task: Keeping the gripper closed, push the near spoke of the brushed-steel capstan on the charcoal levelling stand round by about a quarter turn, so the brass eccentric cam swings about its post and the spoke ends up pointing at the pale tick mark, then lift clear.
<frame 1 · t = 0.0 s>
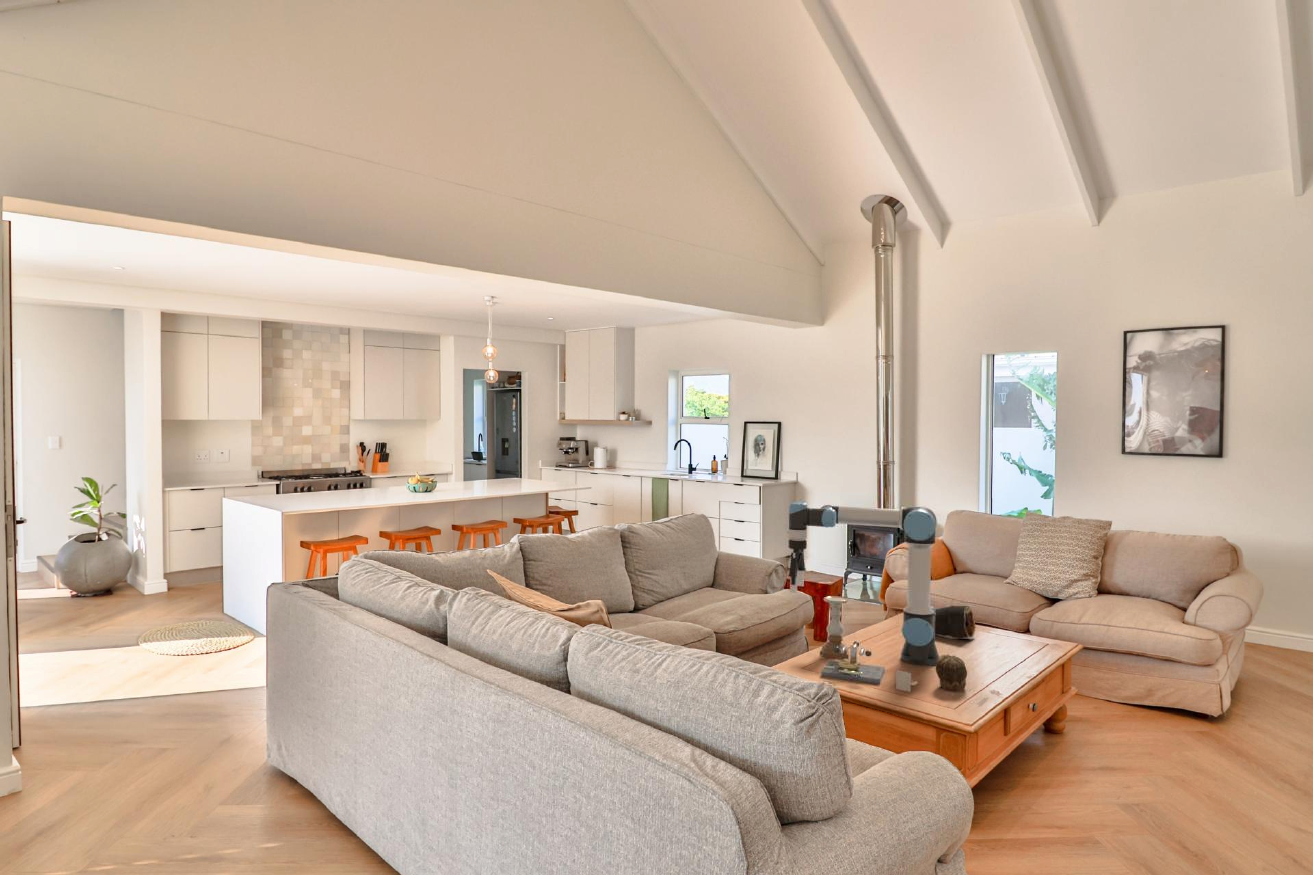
hand: (796, 589, 332), 28 cm above the table, fingers open, 13 cm apart
dark brown rounded lump: (950, 688, 293), on the table
candle holder: (835, 654, 334), on the table
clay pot: (944, 635, 365), on the table
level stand: (853, 674, 308), on the table
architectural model: (904, 691, 291), on the table
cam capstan: (854, 656, 309), point 7 cm above the table, hinge at 0.0°
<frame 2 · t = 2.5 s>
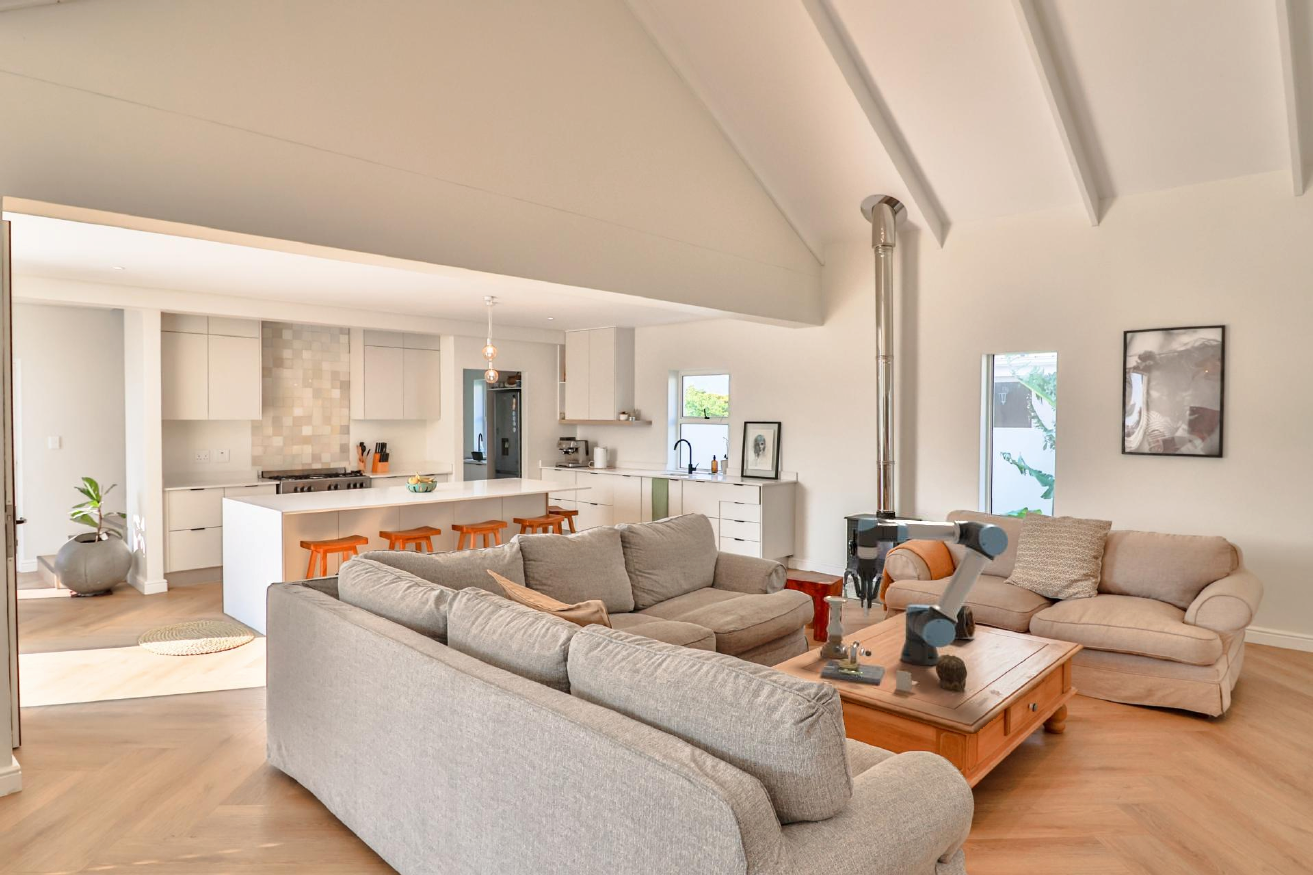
hand: (866, 616, 311), 22 cm above the table, fingers closed
nothing on the table moved.
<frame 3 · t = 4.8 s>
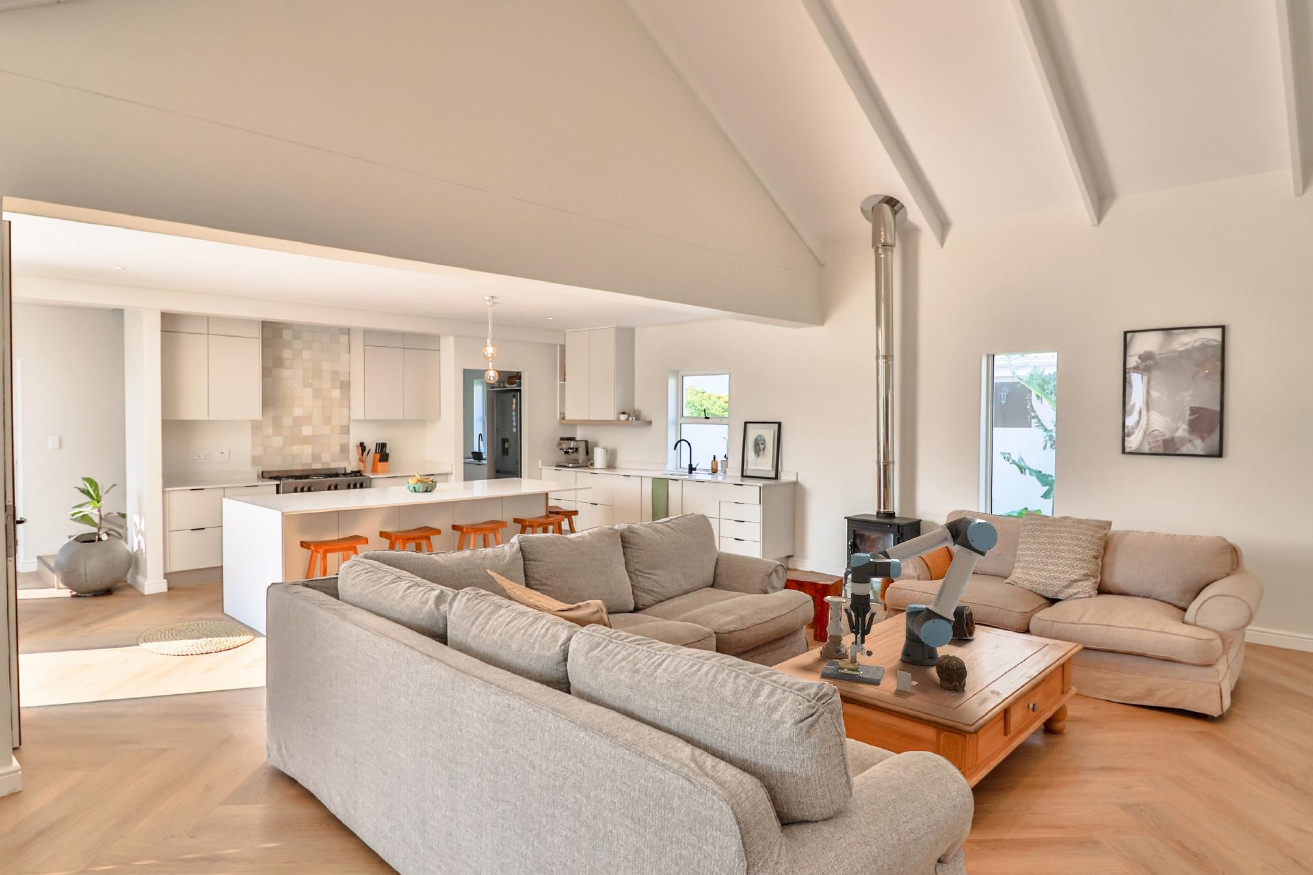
hand: (859, 651, 313), 8 cm above the table, fingers closed
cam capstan: (853, 656, 309), point 7 cm above the table, hinge at 5.1°, touching gripper
everything else where it was.
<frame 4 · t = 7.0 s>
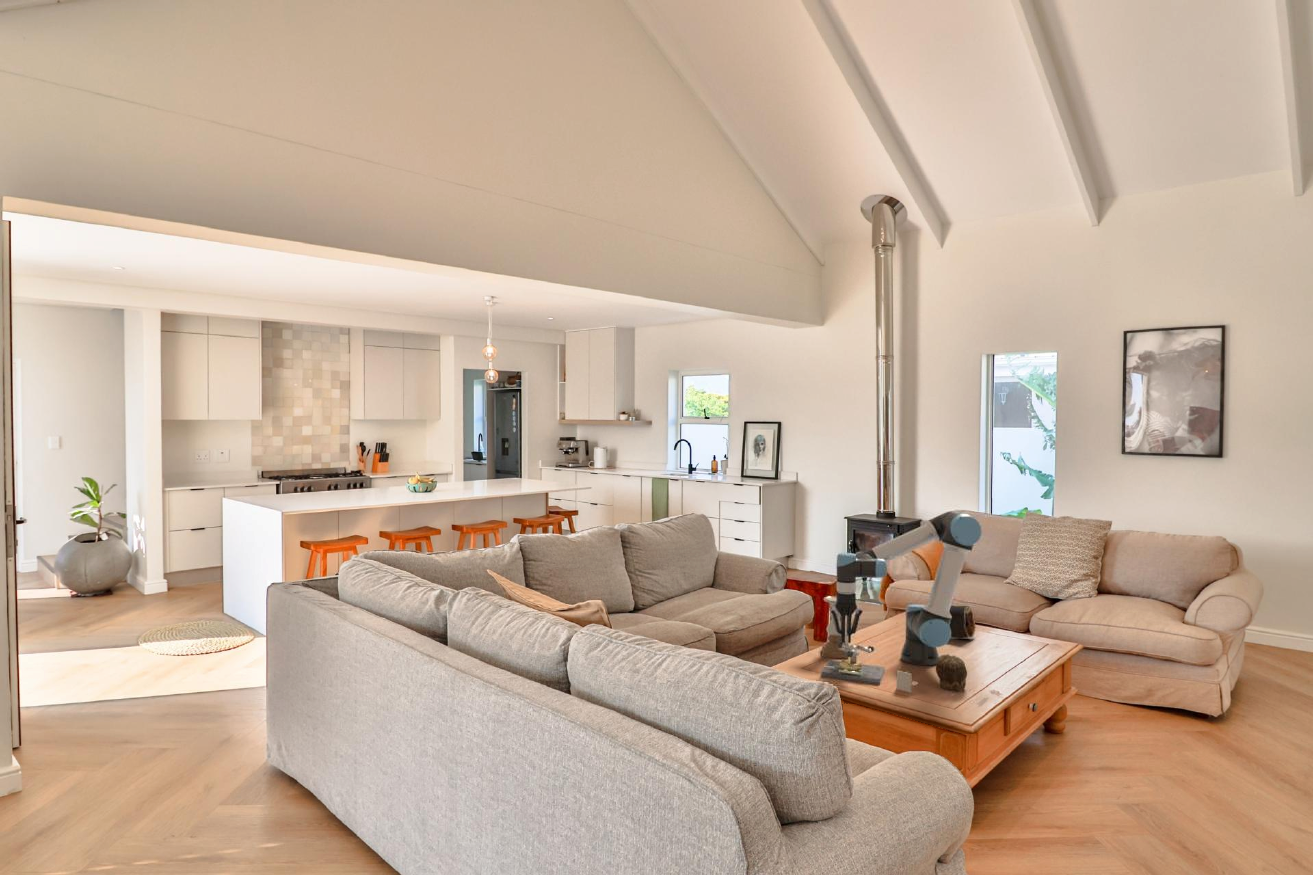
hand: (845, 650, 313), 8 cm above the table, fingers closed
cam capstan: (850, 656, 309), point 7 cm above the table, hinge at 56.4°, touching gripper
everything else where it was.
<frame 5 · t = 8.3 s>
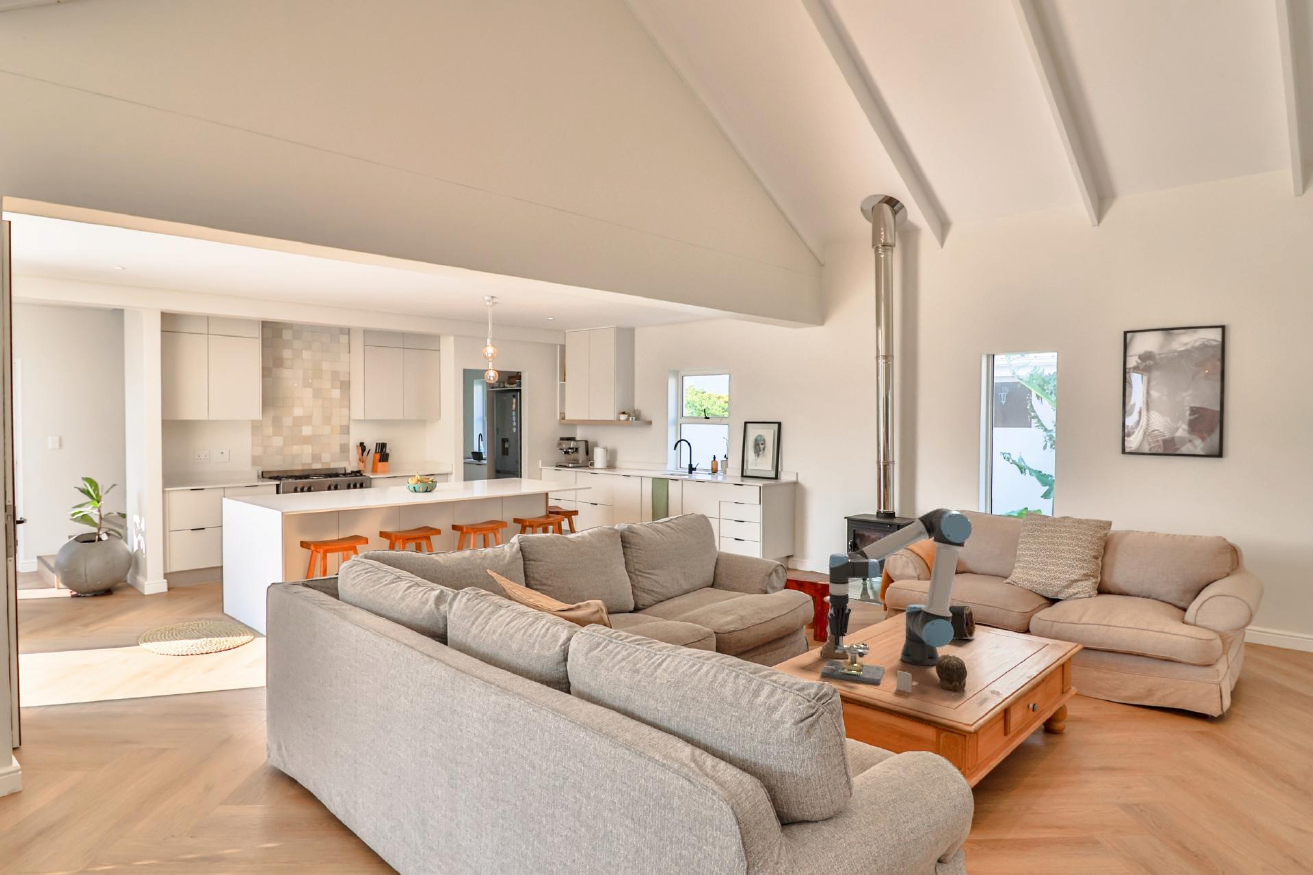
hand: (838, 652, 312), 8 cm above the table, fingers closed
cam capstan: (848, 656, 308), point 7 cm above the table, hinge at 91.9°, touching gripper
everything else where it was.
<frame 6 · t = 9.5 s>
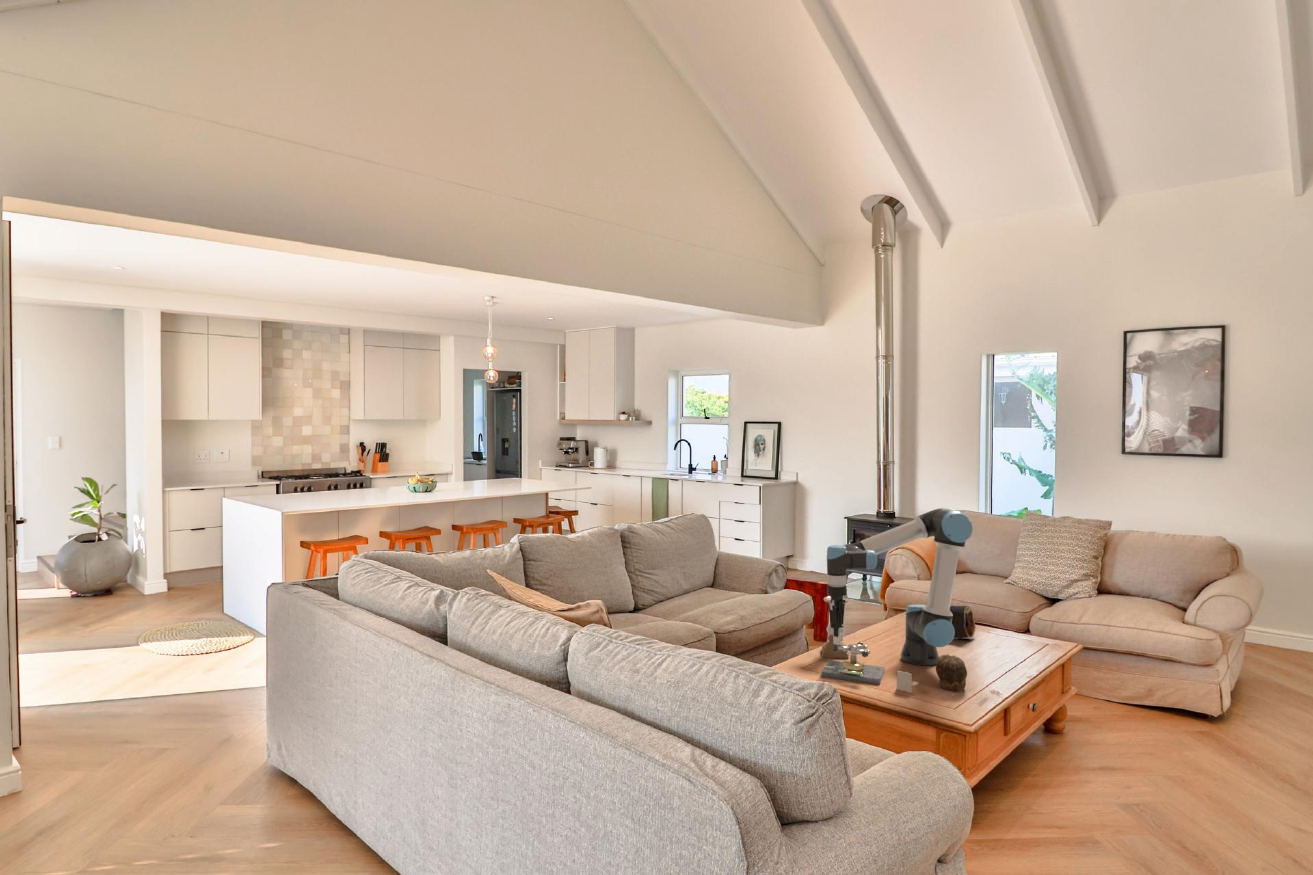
hand: (837, 643, 311), 11 cm above the table, fingers closed
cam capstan: (848, 657, 308), point 7 cm above the table, hinge at 105.8°
everything else where it was.
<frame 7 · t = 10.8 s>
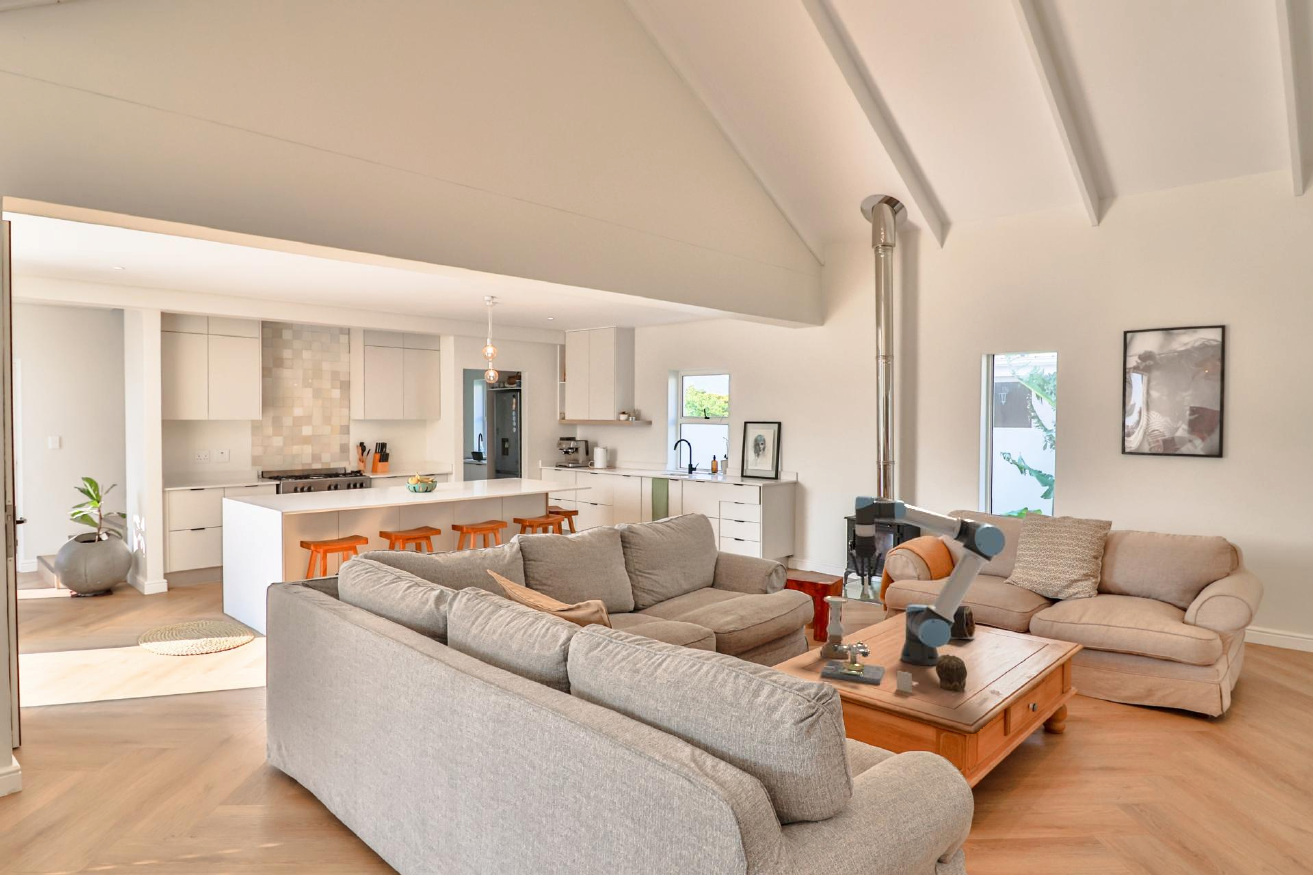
hand: (866, 593, 313), 31 cm above the table, fingers closed
nothing on the table moved.
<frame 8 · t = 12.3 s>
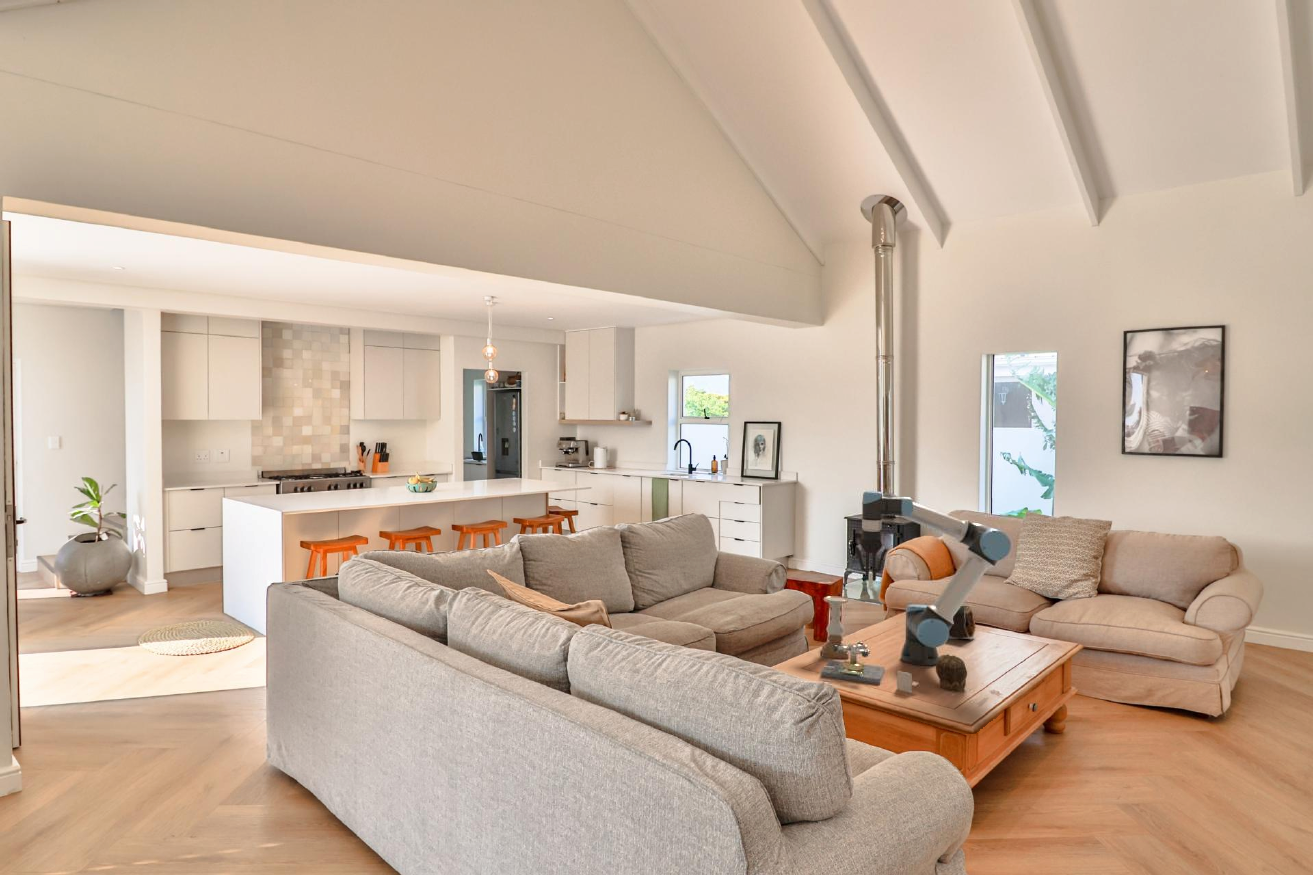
hand: (870, 588, 314), 32 cm above the table, fingers closed
nothing on the table moved.
at the end: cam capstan at +106° (first picture: +0°) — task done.
